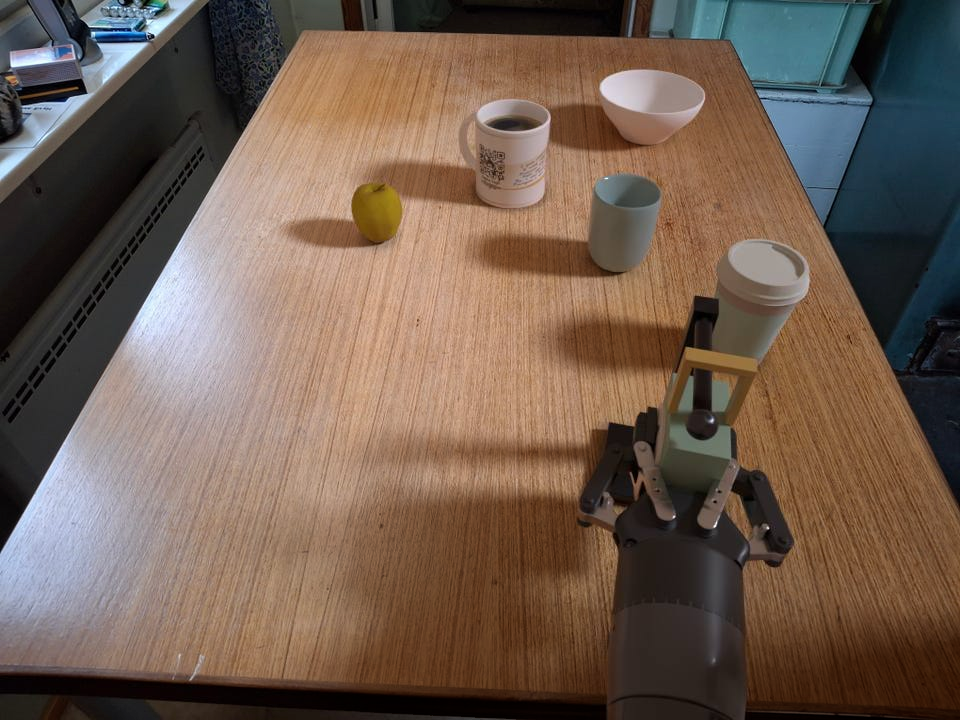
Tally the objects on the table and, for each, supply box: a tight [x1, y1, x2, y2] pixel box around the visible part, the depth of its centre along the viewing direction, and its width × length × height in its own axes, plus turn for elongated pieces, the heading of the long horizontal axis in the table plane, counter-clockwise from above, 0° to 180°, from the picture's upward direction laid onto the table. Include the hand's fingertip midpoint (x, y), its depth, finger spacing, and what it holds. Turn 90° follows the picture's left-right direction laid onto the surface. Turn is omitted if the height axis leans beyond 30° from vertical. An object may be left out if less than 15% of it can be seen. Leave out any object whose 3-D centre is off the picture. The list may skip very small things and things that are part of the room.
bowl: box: [598, 69, 706, 146], centre depth 105 cm, size 16×16×7 cm
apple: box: [350, 182, 403, 244], centre depth 84 cm, size 6×6×8 cm
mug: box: [457, 98, 552, 209], centre depth 92 cm, size 10×12×11 cm
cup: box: [587, 173, 663, 273], centre depth 80 cm, size 8×8×10 cm
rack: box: [603, 294, 719, 506], centre depth 52 cm, size 10×14×18 cm
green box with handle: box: [652, 347, 758, 493], centre depth 48 cm, size 5×7×15 cm, turn 166°
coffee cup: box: [712, 238, 811, 367], centre depth 68 cm, size 8×8×12 cm
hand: (684, 420), depth 51 cm, fingers closed on green box with handle, 4 cm apart
